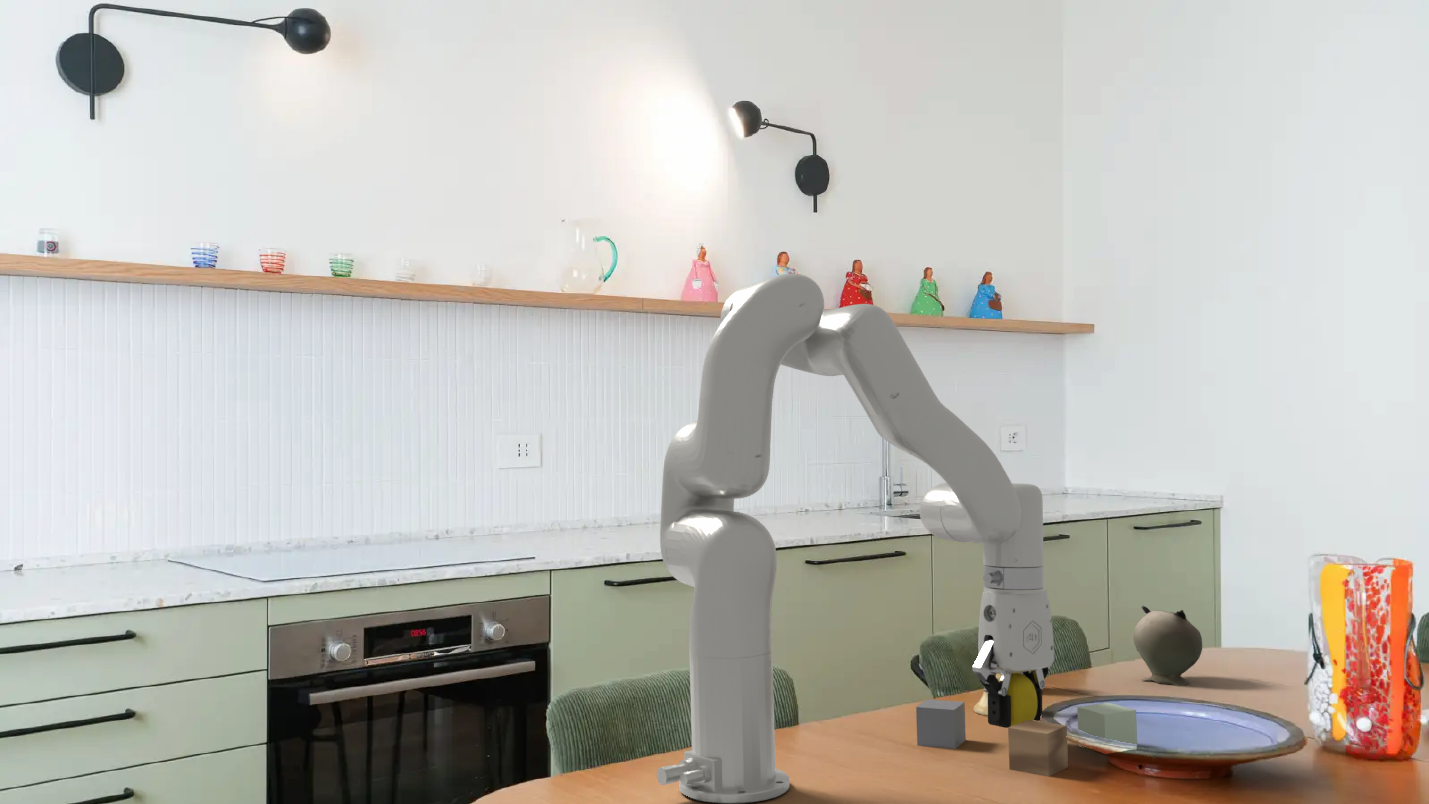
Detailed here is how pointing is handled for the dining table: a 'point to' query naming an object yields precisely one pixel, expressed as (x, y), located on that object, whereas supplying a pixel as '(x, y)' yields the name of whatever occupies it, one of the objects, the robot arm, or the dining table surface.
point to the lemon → (1022, 698)
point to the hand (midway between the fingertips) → (1015, 720)
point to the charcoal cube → (940, 723)
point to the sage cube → (1108, 722)
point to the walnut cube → (1038, 747)
